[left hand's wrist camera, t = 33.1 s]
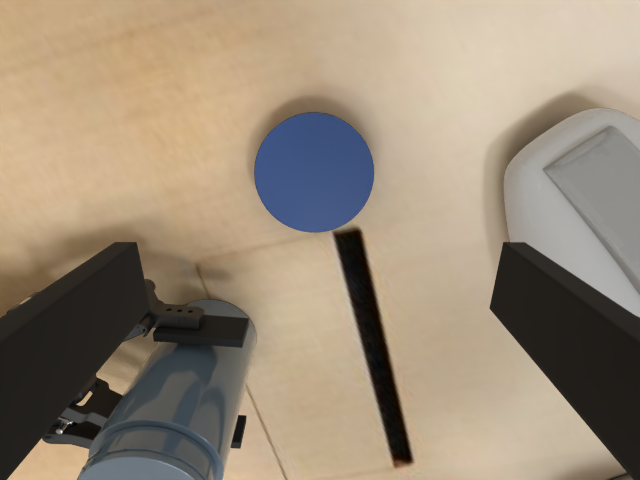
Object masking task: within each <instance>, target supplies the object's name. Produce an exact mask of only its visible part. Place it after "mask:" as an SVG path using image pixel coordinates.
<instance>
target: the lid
mask: <svg viewBox="0 0 640 480" xmlns="http://www.w3.org/2000/svg"><path fill="white" fill-rule="evenodd" d="M254 175H255V184H256V188H257V191H258V194H259V197H260V199H261V201H262V203H263V204H264V206H265V207H266V209H267V210H268V211H269V212H270V213H271V214H272V215H273V216H274V217H275V218H276V219H277V220H279V221H280V222H281V223H283V224H285V225H287V226H288V227H291V228H293V229H296V230H300V231H304V232H325V231H329V230H333V229H335V228H338V227H340V226H342V225H344V224H346V223H347V222H349V221H350V220H352V219H353V218H354V217H355V216H356V215H357V214H358V213H359V212H360V211H361V209H362V208H363V207H364V205H365V203H366V202H367V200H368V198H369V196H370V193H371V190H372V186H373V180H374V166H373V161H372V156H371V154H370V151H369V148H368V146H367V144H366V143H365V141H364V140H363V138H362V137H361V135H360V134H359V133H358V132H357V131H356V130H355V129H354V128H353V127H351V126H350V125H349V124H348V123H346V122H345V121H343V120H341V119H340V118H337V117H335V116H333V115H329V114H326V113H319V112H309V113H302V114H299V115H295V116H293V117H291V118H288V119H287V120H285V121H283V122H282V123H280V124H279V125H278V126H277V127H275V128H274V129H273V130H272V131H271V132H270V133H269V134H268V135H267V137H266V138H265V140H264V141H263V143H262V145H261V147H260V149H259V151H258V154H257V157H256V162H255V170H254Z"/></svg>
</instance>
